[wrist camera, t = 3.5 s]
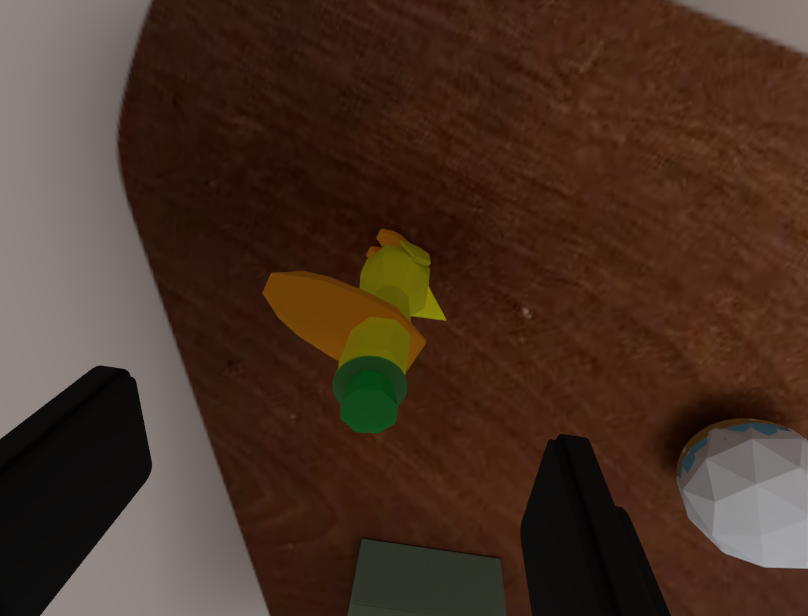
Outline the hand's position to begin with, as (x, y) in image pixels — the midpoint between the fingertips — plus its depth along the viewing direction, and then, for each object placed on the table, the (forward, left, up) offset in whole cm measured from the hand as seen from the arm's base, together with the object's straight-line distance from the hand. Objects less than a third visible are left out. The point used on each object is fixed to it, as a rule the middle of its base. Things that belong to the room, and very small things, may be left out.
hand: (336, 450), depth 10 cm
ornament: (+20, -9, -14) cm, 26 cm away
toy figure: (0, 0, -14) cm, 14 cm away
